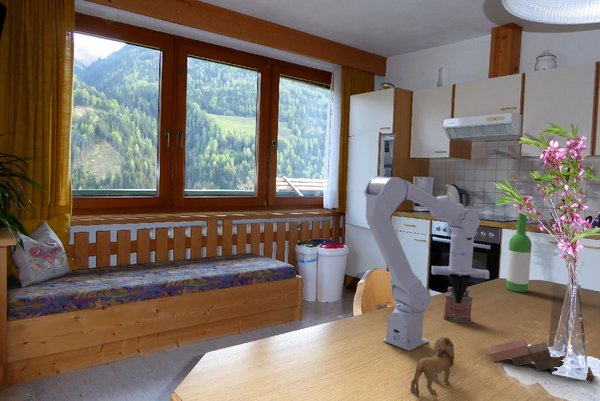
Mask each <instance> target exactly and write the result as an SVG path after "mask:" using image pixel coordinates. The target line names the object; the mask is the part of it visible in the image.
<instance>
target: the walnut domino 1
mask: <svg viewBox="0 0 600 401" xmlns="http://www.w3.org/2000/svg"><path fill="white" fill-rule="evenodd" d="M528 351H529V354H527V355H522V356H518V357H514V358H510V359H511V361H512V364H513V365H517V366H522V365H526V364H531V363H534V362H536V361H541V360H545V359H550V358H551V356H550V353H549V351H550V349H549V346H548V344H547V342H546V341H545V342H540V343H535V344H532V345H531V344H530V345H528ZM517 366H516V367H517Z"/></svg>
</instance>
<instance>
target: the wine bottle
mask: <svg viewBox="0 0 600 401" xmlns="http://www.w3.org/2000/svg"><path fill="white" fill-rule="evenodd" d="M522 213H523V212H519V213H518V216H517V226H516V233H515V234H514V235H512V236H511V237H510V239H509V241H508V242H509V243H508V254H507V255H508V256H507V264H506V265H507V267H506V280H505V281H506V282H505V287H506V289H507V290H509V291H512V292H515V293H525V292H527V291H528V289H529V282H530V281H529V280H530V269H531V256H532V255H531V254H532V241H531V238H529V236H528V235H527V233H526V232H527V231H526V230H527V217H528V216H527V217H526V216H525V215H523V214H522Z"/></svg>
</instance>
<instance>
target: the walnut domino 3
mask: <svg viewBox="0 0 600 401" xmlns="http://www.w3.org/2000/svg"><path fill="white" fill-rule="evenodd" d="M587 367H588V373H587V378H586V380H587V381H590V382H589V383H591V382H593V383H594V380H595V375H594V373H593V371H592V369H591V367H590V366H587ZM557 370H558V369H557V368H551V371H550V373H551V372H554V371H557Z"/></svg>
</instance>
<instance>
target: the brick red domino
mask: <svg viewBox="0 0 600 401" xmlns="http://www.w3.org/2000/svg"><path fill="white" fill-rule="evenodd" d="M528 346H529V345H528V344H527V342H526V339H525V338H520V339H516V340H512V341H511V340H510V341H508V342H504V343H499V344H496V345H492V346H490V356H491V359H492V361H493V363H495V362H499V361H504V360H509V359H511V358H514V357H518V356H522V355H527V354H529V351H528Z"/></svg>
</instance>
